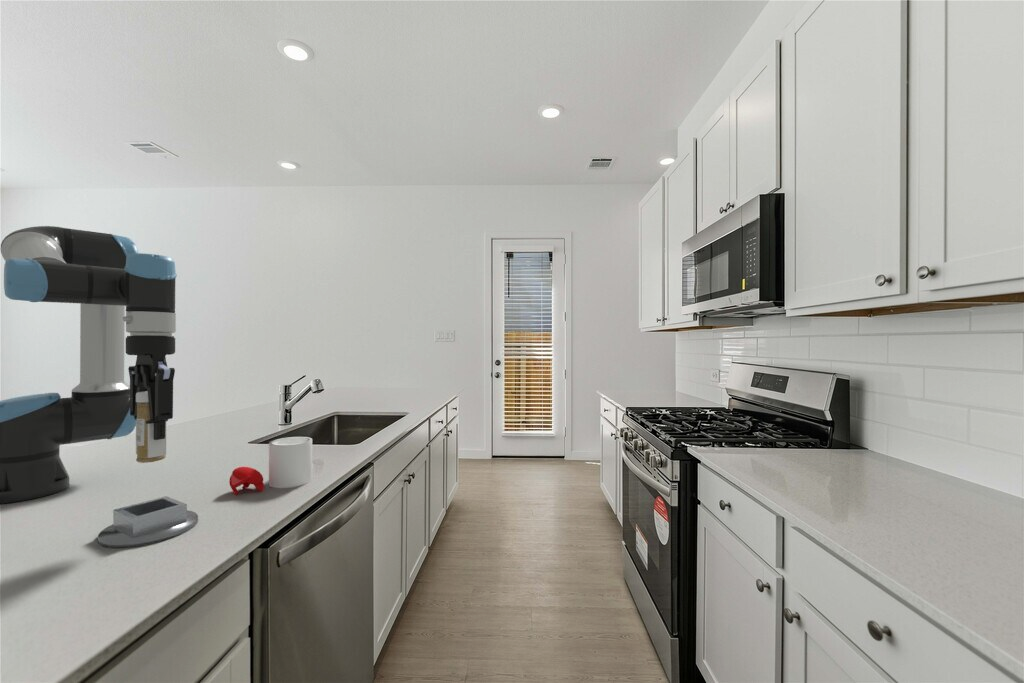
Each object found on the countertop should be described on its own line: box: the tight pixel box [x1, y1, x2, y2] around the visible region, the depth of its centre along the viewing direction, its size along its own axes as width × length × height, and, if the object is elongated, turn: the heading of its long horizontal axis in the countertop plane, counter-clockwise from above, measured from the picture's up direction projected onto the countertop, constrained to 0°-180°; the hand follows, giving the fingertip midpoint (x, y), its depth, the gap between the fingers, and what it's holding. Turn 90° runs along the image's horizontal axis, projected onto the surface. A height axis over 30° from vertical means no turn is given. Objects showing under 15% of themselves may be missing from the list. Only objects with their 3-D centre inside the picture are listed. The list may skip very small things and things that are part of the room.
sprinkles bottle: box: [135, 391, 167, 464], centre depth 86 cm, size 5×5×14 cm
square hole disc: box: [97, 495, 199, 549], centre depth 86 cm, size 15×15×4 cm
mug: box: [268, 436, 313, 489], centre depth 117 cm, size 14×10×11 cm
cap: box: [228, 466, 265, 496], centre depth 108 cm, size 8×6×6 cm
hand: (150, 454), depth 86 cm, fingers closed on sprinkles bottle, 4 cm apart
